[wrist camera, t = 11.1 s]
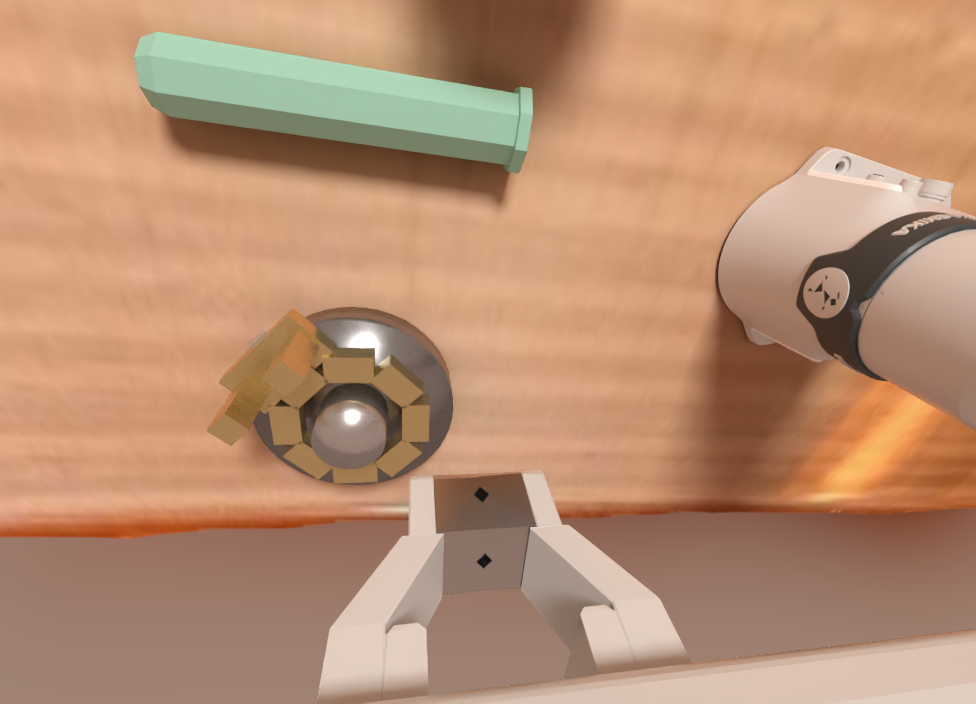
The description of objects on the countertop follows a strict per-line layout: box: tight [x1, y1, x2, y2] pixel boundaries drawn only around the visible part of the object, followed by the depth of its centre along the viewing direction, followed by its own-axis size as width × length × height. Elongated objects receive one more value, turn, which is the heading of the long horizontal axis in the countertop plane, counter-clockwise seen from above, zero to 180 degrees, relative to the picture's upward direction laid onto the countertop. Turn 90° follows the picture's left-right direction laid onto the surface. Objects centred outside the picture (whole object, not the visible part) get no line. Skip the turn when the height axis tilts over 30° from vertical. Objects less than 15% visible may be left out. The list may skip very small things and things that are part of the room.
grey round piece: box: [248, 307, 453, 484], centre depth 41 cm, size 18×18×8 cm
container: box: [134, 32, 533, 173], centre depth 31 cm, size 6×6×25 cm
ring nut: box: [206, 308, 430, 484], centre depth 38 cm, size 17×13×7 cm
